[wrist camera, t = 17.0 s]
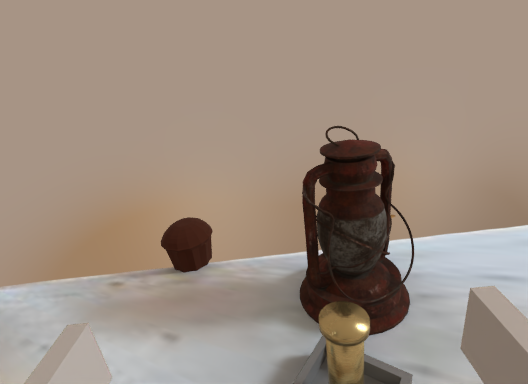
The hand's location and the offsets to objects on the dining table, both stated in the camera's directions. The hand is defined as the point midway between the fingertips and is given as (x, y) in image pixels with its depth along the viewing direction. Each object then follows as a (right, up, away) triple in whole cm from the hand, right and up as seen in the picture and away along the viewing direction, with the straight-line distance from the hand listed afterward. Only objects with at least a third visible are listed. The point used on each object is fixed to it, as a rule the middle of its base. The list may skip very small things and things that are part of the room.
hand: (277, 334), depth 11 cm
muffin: (-17, -11, +63) cm, 66 cm away
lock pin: (+10, -21, +27) cm, 36 cm away
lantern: (+16, -14, +46) cm, 51 cm away
